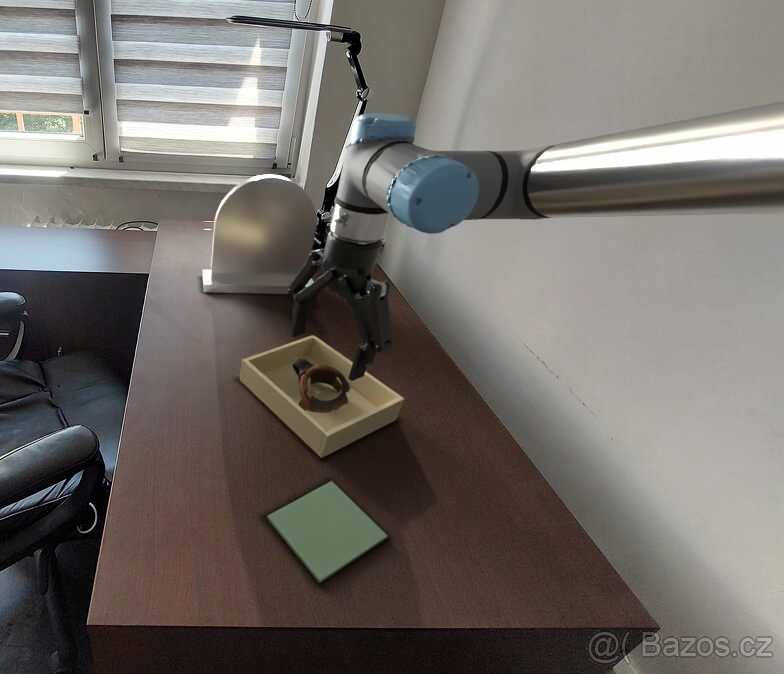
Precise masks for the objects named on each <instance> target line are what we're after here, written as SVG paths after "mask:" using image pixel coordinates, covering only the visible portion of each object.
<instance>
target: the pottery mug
mask: <svg viewBox="0 0 784 674" xmlns="http://www.w3.org/2000/svg"><path fill="white" fill-rule="evenodd" d="M292 366H293V369H294V370H295V372H296V374H297V376H298V377H299V385H300V395H301V397H302V398H301V400H300V401H299V402H298V403H299V404H298V405H299V406H300V407H301V408H302V409H303V410H304V411H307V410H308V411H310V412H318V413H330V412H332V410H337V409H339V408H340V407H341V406H343V405H345V404H347V403H348V399H347V396H346V392H349V389H350V385H349V384H348V382H347V381H346V379H345V377H344V375H343V374H342V373H341V372H339V371H338V370H337V369H335V368H333V367H330V366H327V365H318V366H314V365H312V364H311V363H310V362H309V361H307V360H306V359H304V358H302V357H297V358H296V359H295V360H294V361H293V363H292ZM309 377H310V379H311V381H310V383H311V384H315V383H326V384H329V385H331V386H332V387H333V388H334V389H336V391H337V392H338V393H340V392H341V393H340V395H339V396H338V397H337V398H335V399H333V400H328V401H323V400H319V399H317V398H315V397H313V396H311V399H310V398H309V397H308V395H307V392H308V389H307V380H308V379H309ZM337 377H338V378H339V379H340V381H341V383H340V382H339V381H338V380H337V379H336V378H337ZM341 384H342V385H341Z"/></svg>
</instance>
